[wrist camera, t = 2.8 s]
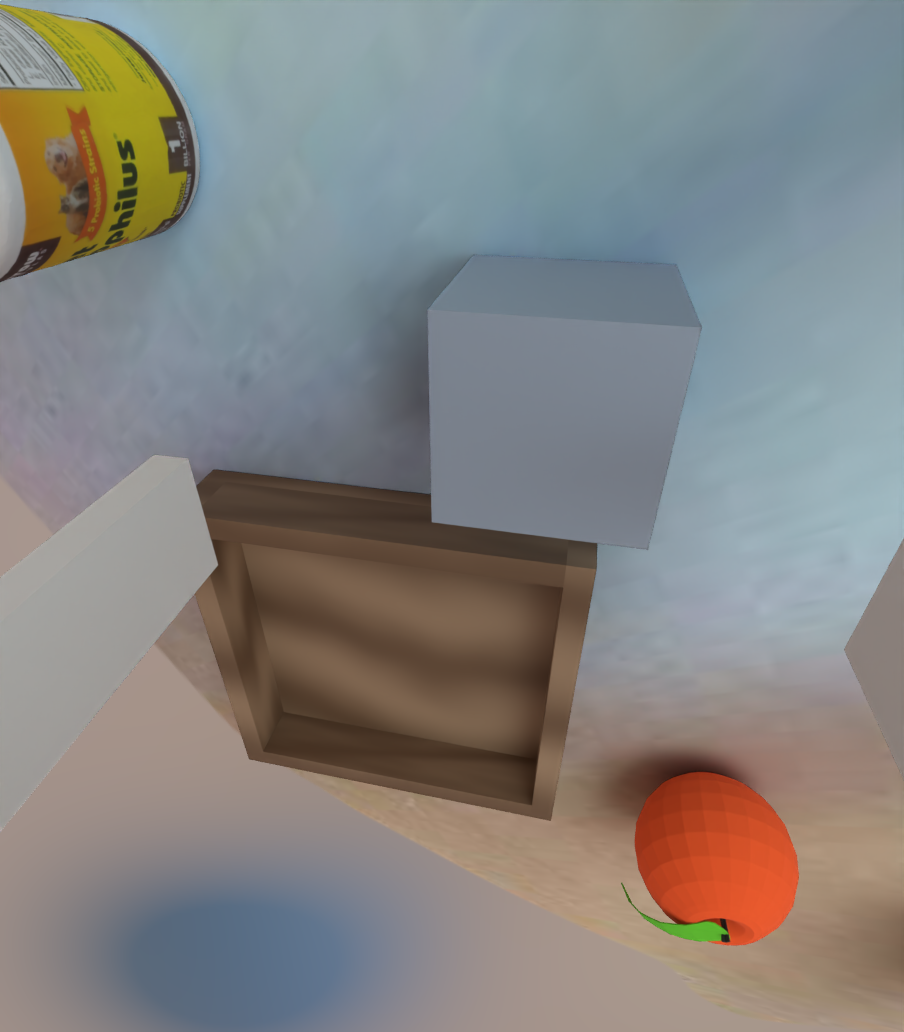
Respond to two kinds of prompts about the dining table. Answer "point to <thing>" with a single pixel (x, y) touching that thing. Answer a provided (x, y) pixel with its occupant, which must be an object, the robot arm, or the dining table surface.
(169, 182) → the supplement bottle
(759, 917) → the clementine
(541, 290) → the grey cube
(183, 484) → the robot arm
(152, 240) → the dining table surface
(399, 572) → the walnut tray
